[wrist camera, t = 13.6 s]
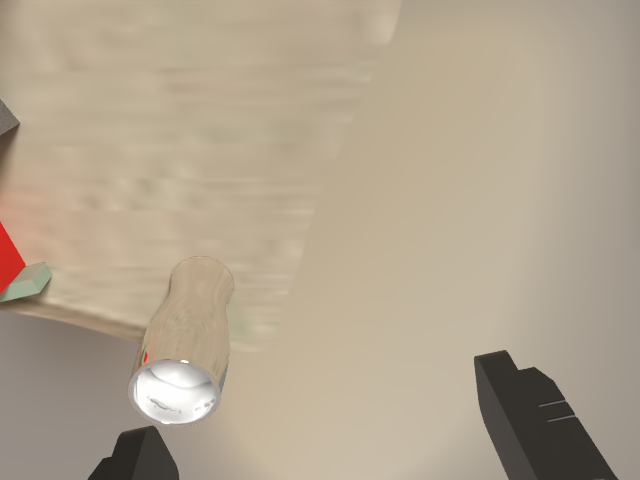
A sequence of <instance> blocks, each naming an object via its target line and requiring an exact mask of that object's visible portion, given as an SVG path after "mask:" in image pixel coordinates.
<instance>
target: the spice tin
mask: <svg viewBox="0 0 640 480" xmlns="http://www.w3.org/2000/svg"><path fill="white" fill-rule="evenodd" d="M18 124H20V122H19V121H18V120H17V119H16V117H15V116H14V115H13V114H12V113H11V111H10V110H9V109H8V108H7V107H6V105H5V104H4V103H3V102H2V101H1V100H0V135H2V134H4V133H5V132H7V131H8V130H10V129H12V128H13V127H15V126H17V125H18Z"/></svg>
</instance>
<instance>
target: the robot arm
mask: <svg viewBox="0 0 640 480" xmlns="http://www.w3.org/2000/svg"><path fill="white" fill-rule="evenodd" d="M474 365H475V373H476V382H477V391H478V400H479V406H480V410H481V414H482V417H483V420H484V423H485V426H486V428H487V431H488V433H489V435H490V438H491V440H492V442H493V444H494V447H495V449H496V451H497V453H498V456H499V458H500V460H501V463H502V465H503V467H504V469H505V472H506V474H507V476H508V478H509V480H618V479H617V477H616V476H615V475H614V473H613V472H612V470H611V469H610V467H609V466H608V464H607V463H606V461H605V459H604V458H603V456H602V455H601V453H600V452H599V450H598V449H597V447H596V446H595V444H594V443H593V441H592V439H591V438H590V436H589V435H588V434H587V432H586V430H585V429H584V427H583V426H582V424H581V422H580V421H579V419H578V418H576V416H575V413H574V412H573V410H572V409H571V407H570V406H569V404H568V403H566V401H565V398H564V396H563V395H562V393H561V392H560V390H559V389H558V387H557V386H556V384H555V382H554V381H553V380H552V379H550V378H549V377H547V376H546V375H545V374H543V373H542V372H541V371H539V370H538V369H536V368H535V367H532V368H528V369H523V370H518V369H517V367H516V365H515V364H514V362H513V360H512V359H511V357H510V355H509V354H508V352H507V351H506V350H503V351H498V352H494V353H489V354H484V355H479V356H475V357H474ZM88 480H179V473H178V469H177V466H176V464H175V462H174V460H173V458H172V456H171V455H170V452H169V451H168V449H167V447H166V445H165V443H164V441H163V439H162V437H161V436H160V434H159V432H158V430H157V429H156V427H154V426H148V427H143V428H138V429H134V430H129V431H125V432H122V433H121V434H120V436H119V438H118V440H117V443H116V445H115V448H114V451H113V454H112V457H108V458H104V459H102V461H101V462H100V463H99V465H98V466H97V467H96V469H95V470H94V472H93V473H92V474H91V475H90V477H89V478H88Z"/></svg>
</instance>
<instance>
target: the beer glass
mask: <svg viewBox="0 0 640 480" xmlns="http://www.w3.org/2000/svg"><path fill="white" fill-rule="evenodd" d="M233 291H234V279H233V276H232V274H231V272H230V270H229V269H228V268H227V267H226V266H225V265H224V264H223V263H222V262H220V261H218V260H216V259H214V258H211V257H205V256H196V257H191V258H188V259H186V260H184V261H182V262H181V263H179V264H178V265H177V266H176V268H175V269H174V270H173V273H172V275H171V281H170V295H169V297H168V298H167V300H166V301H165V303H164V304H163V306H162V307H161V308H160V310H159V311H158V313H157V314H156V315H155V317H154V318H153V320H152V321H151V323H150V325H149V326H148V328H147V330H146V332H145V334H144V336H143V339H142V341H141V343H140V346H139V349H138V352H137V355H136V359H135V363H134V367H133V371H132V375H131V379H130V381H129V385H128V397H129V400H130V403H131V405H132V406H133V408H134V409H135V410H136V411H137V412H138V413H139V414H140V415H141V416H142V417H144V418H145V419H147V420H149V421H151V422H153V423H156V424H158V425H162V426H167V427H187V426H192V425H195V424H198V423H200V422H202V421H204V420H206V419H207V418H209V417H210V416H211V415H212V414H213V413H214V412H215V411H216V409H217V407H218V405H219V403H220V397H221V392H222V388H223V385H224V381H225V377H226V373H227V367H228V362H229V351H230V341H229V328H228V321H227V312H226V307H227V304H228V302H229V300H230V298H231V296H232V294H233Z"/></svg>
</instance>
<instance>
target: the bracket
mask: <svg viewBox="0 0 640 480" xmlns="http://www.w3.org/2000/svg"><path fill="white" fill-rule="evenodd" d="M51 276H52V274H51V272H50V270H49V269H48V267H47V265H46V263H45V262H43V263H39V264H35V265H31V266H27V267H23V268H22V269H21V271H20V272H19V273H18V274H17V275H16V276H15V278H14V279H13V280H12V281H11V282H10V283H9V285H8V286H7V287H6V288H5V289H4V290H3V292H2V293H1V294H0V302H3V301H8V300H12V299H16V298H20V297H25V296H29V295H33V294H37V293H40V291H41V290H42V289H43V287H44V286H45V285H46V283H47V282H48V281H49V279H50V278H51Z"/></svg>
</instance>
